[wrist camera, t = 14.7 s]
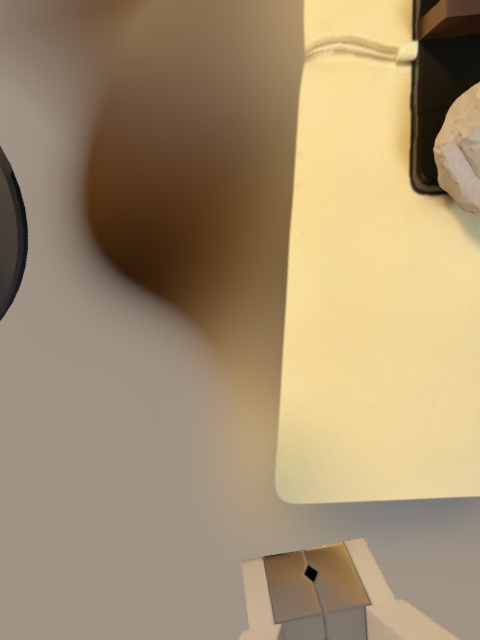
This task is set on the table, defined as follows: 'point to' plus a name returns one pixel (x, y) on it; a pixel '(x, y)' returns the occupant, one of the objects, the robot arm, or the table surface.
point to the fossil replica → (461, 151)
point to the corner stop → (450, 20)
